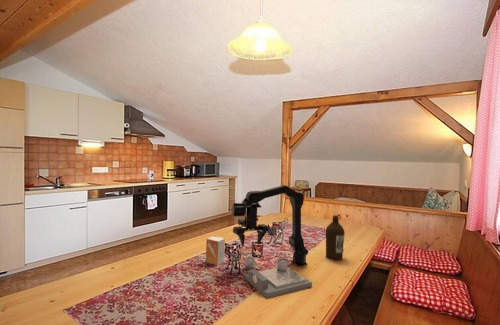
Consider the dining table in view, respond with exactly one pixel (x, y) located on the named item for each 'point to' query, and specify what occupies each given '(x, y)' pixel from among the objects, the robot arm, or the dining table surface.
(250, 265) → the steel spacer
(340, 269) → the dining table surface
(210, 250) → the small box
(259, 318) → the dining table surface
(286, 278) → the kitchen scale
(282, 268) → the cylinder
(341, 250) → the olive oil
